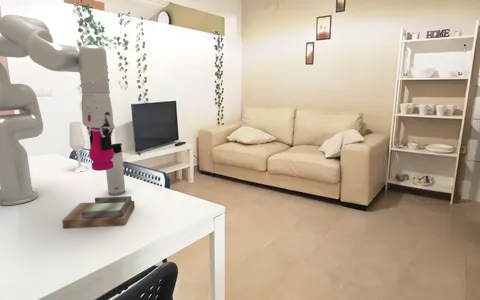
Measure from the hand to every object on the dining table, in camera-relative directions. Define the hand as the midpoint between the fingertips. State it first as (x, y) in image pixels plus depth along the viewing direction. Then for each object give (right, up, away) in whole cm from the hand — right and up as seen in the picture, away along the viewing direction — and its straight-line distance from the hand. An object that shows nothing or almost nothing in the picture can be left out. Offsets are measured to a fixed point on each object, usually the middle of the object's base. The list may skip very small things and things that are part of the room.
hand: (101, 147), depth 98 cm
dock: (-2, -23, +5) cm, 23 cm away
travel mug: (-5, -18, +27) cm, 33 cm away
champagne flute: (-36, -11, +59) cm, 70 cm away
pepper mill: (0, -7, +1) cm, 7 cm away
